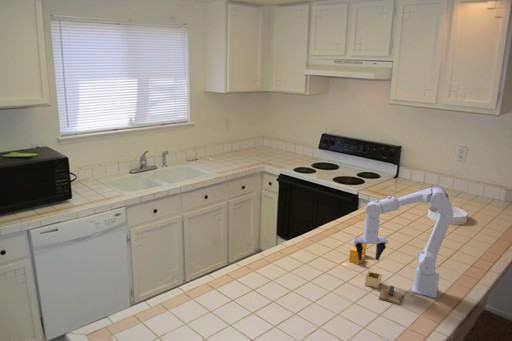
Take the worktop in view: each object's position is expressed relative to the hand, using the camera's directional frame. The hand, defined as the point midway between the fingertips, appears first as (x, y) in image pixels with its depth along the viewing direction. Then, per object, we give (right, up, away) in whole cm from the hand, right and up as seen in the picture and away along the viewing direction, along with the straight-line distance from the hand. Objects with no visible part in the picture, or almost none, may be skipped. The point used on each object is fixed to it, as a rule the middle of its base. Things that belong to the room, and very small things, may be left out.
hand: (368, 259), depth 185 cm
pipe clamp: (+1, -5, +22) cm, 23 cm away
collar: (+2, -10, -1) cm, 11 cm away
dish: (+69, +8, +81) cm, 107 cm away
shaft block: (+6, -13, -10) cm, 18 cm away
